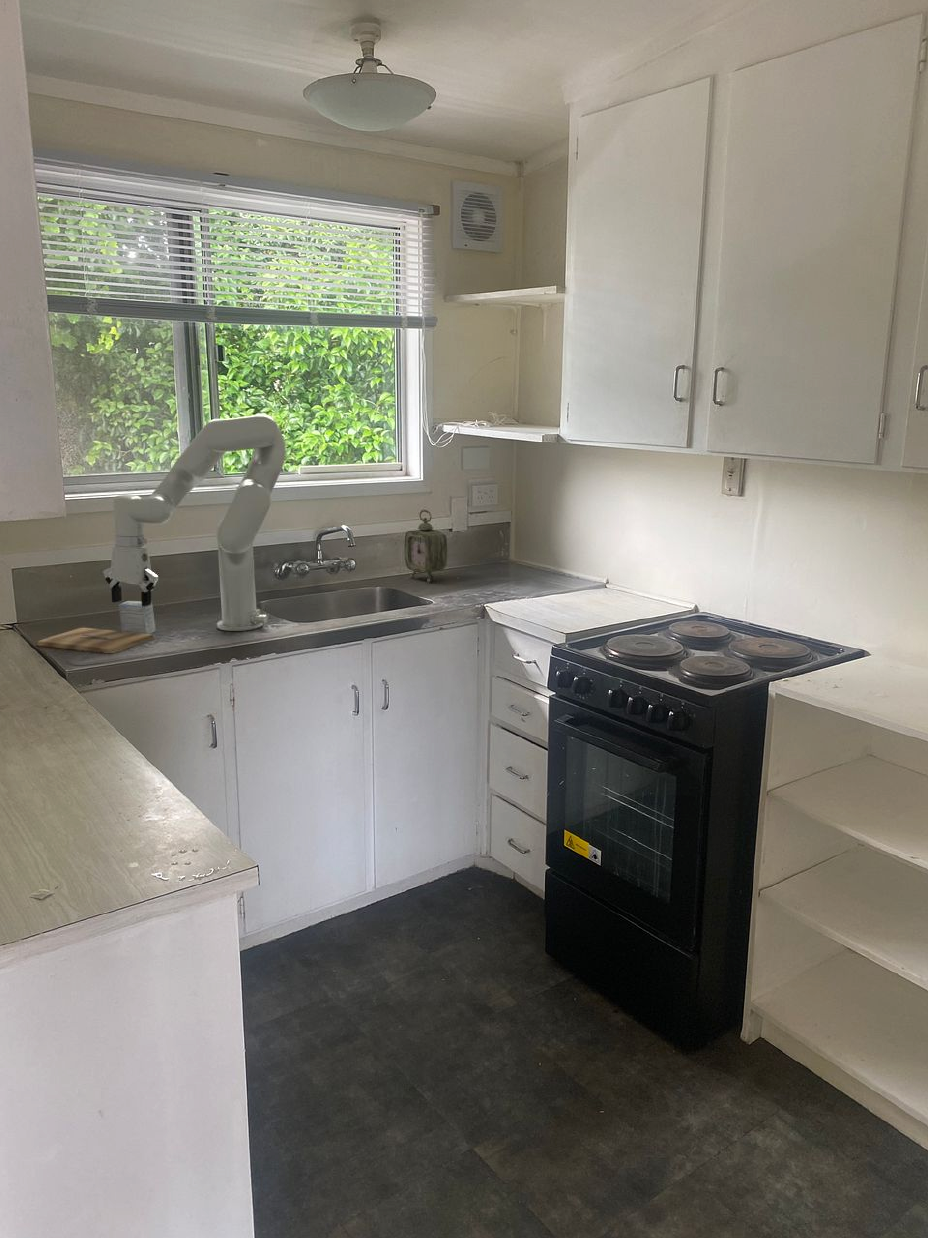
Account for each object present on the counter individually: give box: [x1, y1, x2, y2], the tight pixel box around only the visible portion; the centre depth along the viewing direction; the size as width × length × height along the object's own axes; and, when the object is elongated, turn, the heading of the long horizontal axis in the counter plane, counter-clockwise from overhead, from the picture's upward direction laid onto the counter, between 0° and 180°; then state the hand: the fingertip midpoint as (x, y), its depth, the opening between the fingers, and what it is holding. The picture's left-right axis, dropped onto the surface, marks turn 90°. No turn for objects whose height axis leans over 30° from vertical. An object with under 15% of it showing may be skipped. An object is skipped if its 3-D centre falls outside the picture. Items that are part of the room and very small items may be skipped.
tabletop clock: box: [404, 509, 448, 584], centre depth 327 cm, size 14×9×25 cm, turn 37°
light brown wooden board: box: [37, 626, 155, 654], centre depth 245 cm, size 24×16×1 cm, turn 70°
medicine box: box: [118, 600, 156, 634], centre depth 255 cm, size 8×4×9 cm, turn 75°
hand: (131, 603), depth 253 cm, fingers open, 9 cm apart
